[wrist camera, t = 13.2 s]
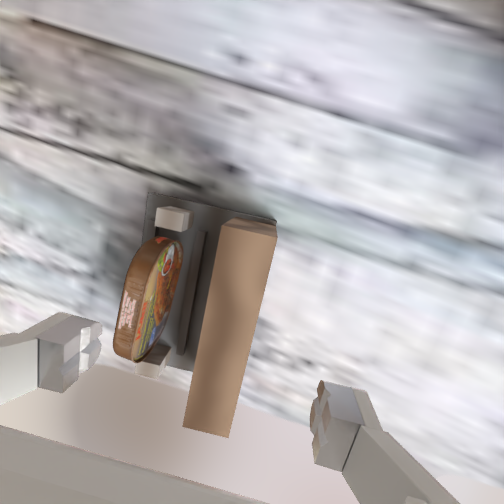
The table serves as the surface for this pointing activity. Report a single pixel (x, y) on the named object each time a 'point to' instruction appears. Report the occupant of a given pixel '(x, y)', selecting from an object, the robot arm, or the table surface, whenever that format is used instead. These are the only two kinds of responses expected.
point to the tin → (147, 297)
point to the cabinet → (210, 302)
